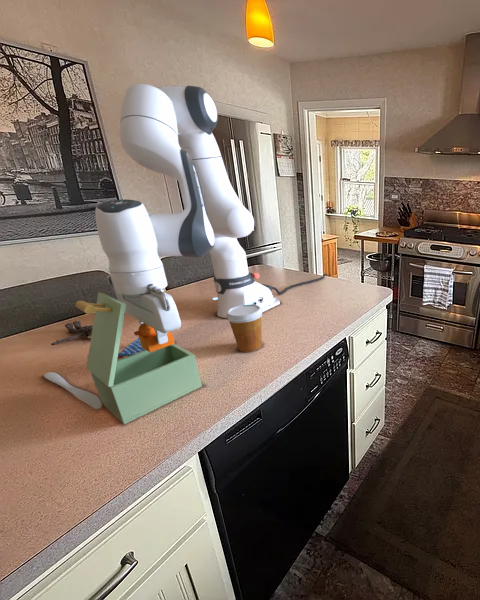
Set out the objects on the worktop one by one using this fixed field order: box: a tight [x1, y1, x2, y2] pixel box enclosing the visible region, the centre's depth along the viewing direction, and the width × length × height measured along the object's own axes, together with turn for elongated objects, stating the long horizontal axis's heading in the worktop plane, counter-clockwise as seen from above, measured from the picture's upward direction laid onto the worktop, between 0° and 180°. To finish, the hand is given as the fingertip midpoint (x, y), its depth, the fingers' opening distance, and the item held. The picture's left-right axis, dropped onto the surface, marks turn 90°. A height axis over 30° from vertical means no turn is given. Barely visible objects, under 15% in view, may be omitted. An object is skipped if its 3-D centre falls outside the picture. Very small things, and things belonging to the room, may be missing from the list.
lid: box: [74, 292, 126, 387], centre depth 63 cm, size 16×12×5 cm
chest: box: [90, 343, 203, 425], centre depth 74 cm, size 16×12×9 cm
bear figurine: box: [50, 320, 93, 346], centre depth 102 cm, size 18×4×14 cm
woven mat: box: [117, 337, 145, 360], centre depth 93 cm, size 10×11×2 cm
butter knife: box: [43, 371, 103, 410], centre depth 76 cm, size 1×27×3 cm
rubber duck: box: [133, 323, 176, 352], centre depth 72 cm, size 6×4×6 cm, turn 147°
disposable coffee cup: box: [225, 304, 264, 353], centre depth 95 cm, size 10×10×12 cm
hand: (156, 339), depth 73 cm, fingers closed on rubber duck, 4 cm apart
